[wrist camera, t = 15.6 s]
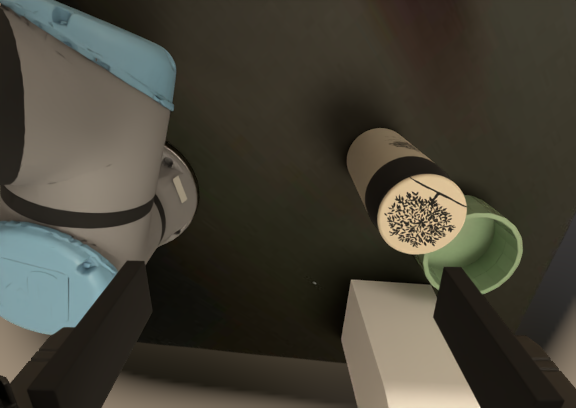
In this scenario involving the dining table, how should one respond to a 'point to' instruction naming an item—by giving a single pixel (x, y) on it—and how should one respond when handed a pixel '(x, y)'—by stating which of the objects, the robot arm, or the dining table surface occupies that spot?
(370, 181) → the travel mug
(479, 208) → the pot
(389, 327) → the milk
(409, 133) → the dining table surface
